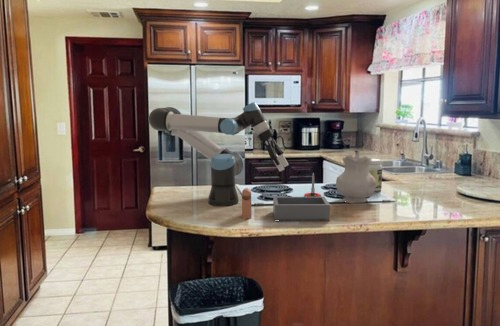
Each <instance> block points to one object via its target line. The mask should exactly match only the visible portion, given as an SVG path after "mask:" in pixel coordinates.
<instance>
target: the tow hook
mask: <svg viewBox="0 0 500 326" xmlns="http://www.w3.org/2000/svg"><path fill="white" fill-rule="evenodd" d="M310 188H311V189H310V190H311V191H310V192H305V193H304V197H322V194H321V193H318V192H317V193H316V192H315V173H314V172H312V177H311V187H310Z"/></svg>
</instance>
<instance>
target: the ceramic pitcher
mask: <svg viewBox="0 0 500 326" xmlns="http://www.w3.org/2000/svg"><path fill="white" fill-rule="evenodd" d="M354 153H355V154H354V156H353V154H348V155H345V157H344V156H343V157H342V161H343V164H344V171H343V172H342V173H341V174H339V175H338V176H337V177H336V181H335V185H336V190H337V192H338V193H339V194H340V195H341V196H342V197H343V198H342V199H343V202H345V201H346V202H345V203H347V204H357V203H358V204H359V203H360V204H361V203H367V202H368V199H366V198H369V197H370V196H372V195H373V194H374V192H376V191H375V188H376V180H375V178H374V177H373V176H372V175H371V174H370V173H369V170H368V168H369V164H370V162H371V160H372V159H373V158H372V157H368V156H365V155H363V156H362V157H361V154H360V153H361V152H360V151H359V150H358V149H357V148H356V149H355V150H354Z"/></svg>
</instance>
